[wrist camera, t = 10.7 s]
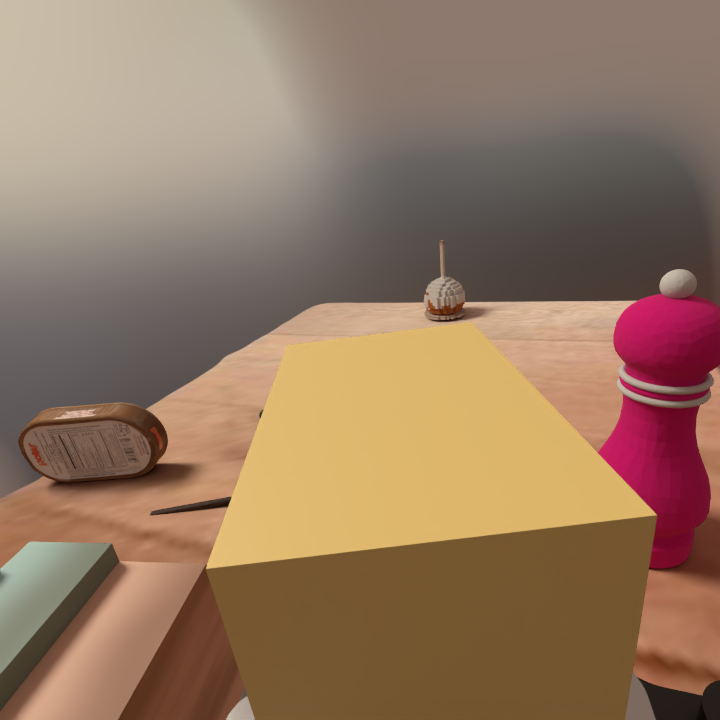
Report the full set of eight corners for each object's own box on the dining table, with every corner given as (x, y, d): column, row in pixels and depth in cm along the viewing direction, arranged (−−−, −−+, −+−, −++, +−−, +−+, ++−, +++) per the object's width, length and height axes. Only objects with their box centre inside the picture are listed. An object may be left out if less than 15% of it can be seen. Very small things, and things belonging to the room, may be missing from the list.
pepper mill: (628, 585, 29) (673, 291, 22) (565, 512, 36) (583, 268, 29) (726, 563, 30) (801, 271, 23) (646, 496, 37) (685, 253, 29)
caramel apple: (440, 309, 94) (436, 237, 89) (472, 313, 89) (470, 237, 83) (417, 319, 89) (412, 244, 84) (450, 324, 84) (447, 244, 78)
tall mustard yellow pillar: (369, 1068, 9) (205, 568, 4) (359, 723, 14) (287, 345, 9) (573, 1047, 9) (657, 515, 4) (483, 708, 14) (471, 322, 9)
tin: (177, 461, 50) (156, 395, 47) (165, 479, 47) (142, 409, 44) (51, 472, 51) (22, 408, 48) (32, 490, 48) (-1, 422, 45)
